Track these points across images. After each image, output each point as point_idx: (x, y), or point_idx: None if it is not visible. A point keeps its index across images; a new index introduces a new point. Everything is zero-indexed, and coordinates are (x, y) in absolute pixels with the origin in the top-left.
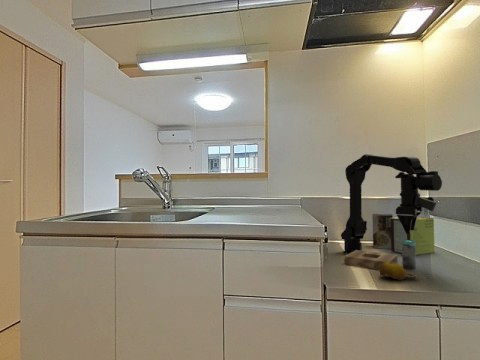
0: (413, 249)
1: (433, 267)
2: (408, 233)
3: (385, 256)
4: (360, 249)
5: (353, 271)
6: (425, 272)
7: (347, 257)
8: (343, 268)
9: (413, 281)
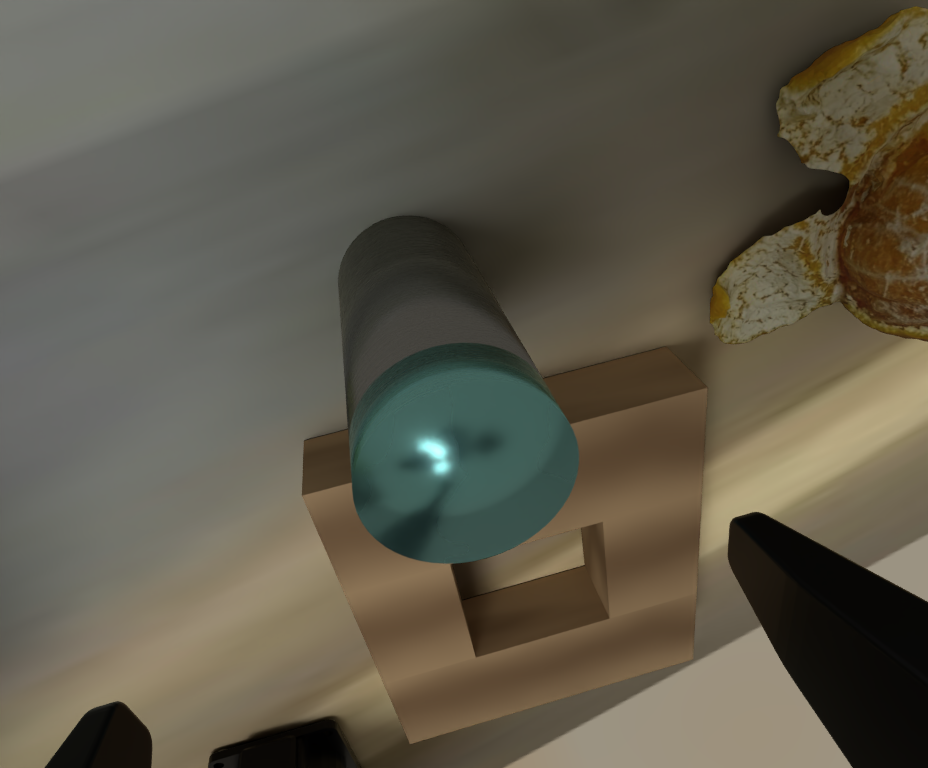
0: (488, 321)
1: (134, 85)
2: (760, 525)
3: None
4: (274, 766)
5: (821, 480)
6: (477, 69)
7: (689, 638)
8: None
9: None
